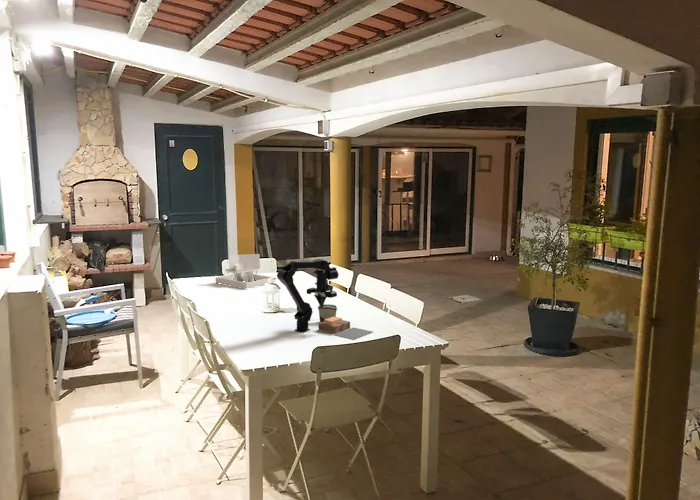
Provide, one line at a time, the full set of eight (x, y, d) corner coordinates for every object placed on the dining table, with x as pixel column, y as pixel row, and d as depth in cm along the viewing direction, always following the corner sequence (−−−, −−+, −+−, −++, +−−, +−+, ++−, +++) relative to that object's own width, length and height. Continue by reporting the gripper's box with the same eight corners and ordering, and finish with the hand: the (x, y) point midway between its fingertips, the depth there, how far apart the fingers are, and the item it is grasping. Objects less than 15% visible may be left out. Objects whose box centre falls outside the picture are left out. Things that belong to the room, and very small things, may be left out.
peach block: (332, 324, 316) (332, 321, 316) (324, 323, 320) (324, 319, 319) (341, 321, 323) (341, 318, 323) (333, 319, 327) (333, 316, 327)
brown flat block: (335, 334, 312) (335, 327, 312) (318, 330, 320) (318, 323, 319) (350, 328, 323) (350, 321, 323) (333, 324, 331) (333, 318, 330)
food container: (340, 321, 339) (340, 305, 338) (336, 323, 333) (336, 307, 332) (321, 319, 343) (321, 303, 341) (317, 321, 337) (317, 305, 335)
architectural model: (236, 288, 432) (235, 258, 428) (222, 284, 447) (221, 255, 444) (266, 283, 450) (266, 255, 447) (252, 279, 466) (251, 252, 462)
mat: (354, 339, 302) (354, 339, 302) (334, 335, 310) (334, 334, 310) (373, 332, 316) (373, 331, 316) (353, 327, 324) (353, 327, 324)
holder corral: (246, 289, 427) (246, 283, 426) (215, 283, 448) (215, 277, 447) (273, 283, 449) (273, 277, 449) (242, 278, 471) (242, 272, 470)
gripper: (342, 280, 324) (342, 306, 326) (318, 276, 335) (318, 302, 337) (330, 283, 315) (330, 310, 317) (305, 279, 326) (306, 305, 329)
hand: (321, 307), depth 325 cm, fingers closed
